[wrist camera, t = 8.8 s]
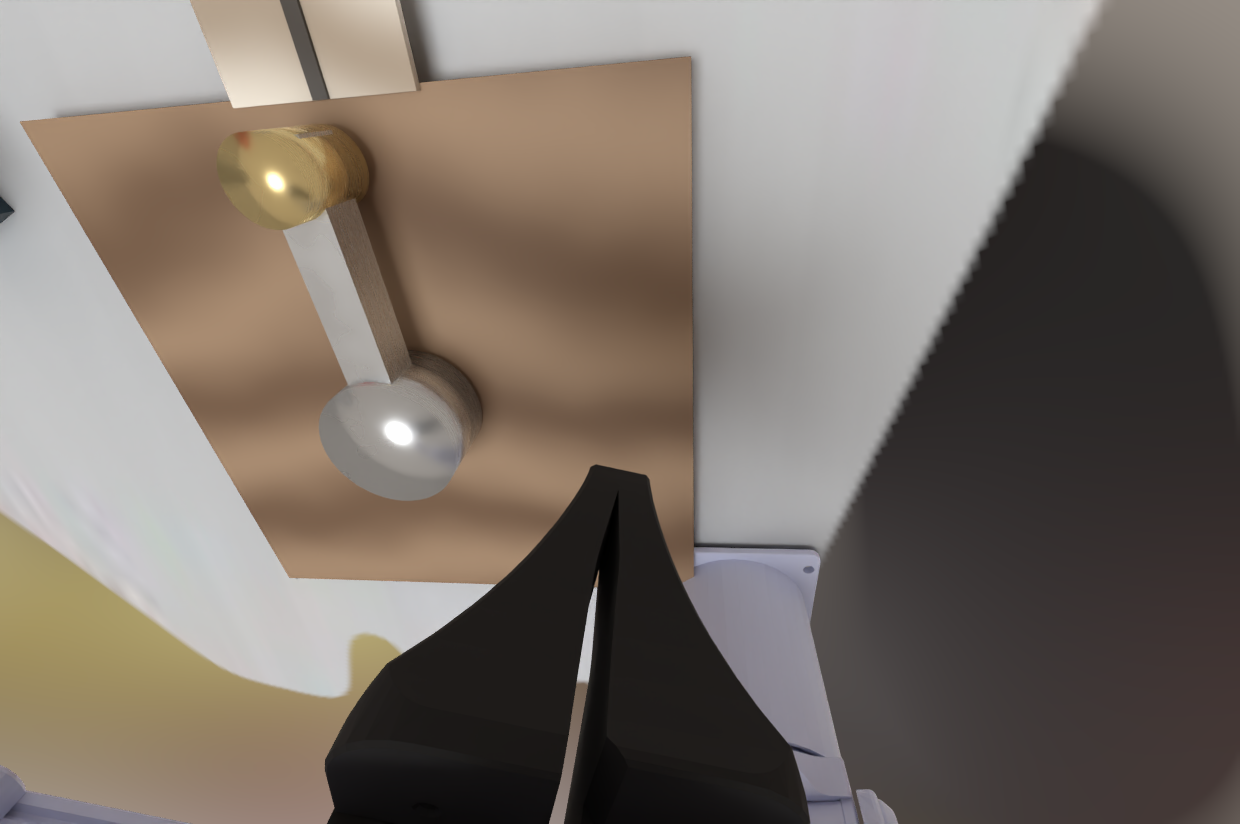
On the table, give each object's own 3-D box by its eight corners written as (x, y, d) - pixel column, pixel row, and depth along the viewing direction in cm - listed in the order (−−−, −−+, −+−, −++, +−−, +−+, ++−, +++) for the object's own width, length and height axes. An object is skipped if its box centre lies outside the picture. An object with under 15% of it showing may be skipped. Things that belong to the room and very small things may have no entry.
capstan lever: (494, 453, 22) (464, 510, 19) (386, 455, 23) (340, 511, 20) (398, 114, 16) (331, 120, 13) (252, 131, 17) (154, 142, 14)
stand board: (693, 571, 27) (694, 597, 26) (302, 560, 30) (284, 584, 28) (690, -68, 14) (690, -84, 13) (1, 20, 17) (-60, 14, 16)
